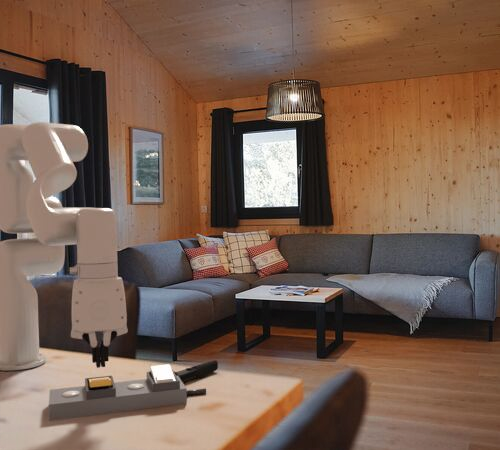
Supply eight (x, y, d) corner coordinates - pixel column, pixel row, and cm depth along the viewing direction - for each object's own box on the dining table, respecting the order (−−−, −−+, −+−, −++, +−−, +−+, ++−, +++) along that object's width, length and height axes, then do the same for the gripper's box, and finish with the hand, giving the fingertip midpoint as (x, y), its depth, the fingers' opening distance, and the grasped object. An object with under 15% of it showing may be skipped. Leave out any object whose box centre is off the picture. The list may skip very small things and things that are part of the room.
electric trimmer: (222, 374, 134) (222, 360, 134) (172, 390, 122) (172, 375, 122) (210, 371, 136) (210, 358, 136) (161, 386, 125) (160, 372, 125)
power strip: (50, 404, 114) (49, 381, 113) (200, 386, 123) (200, 365, 123) (49, 420, 105) (48, 396, 105) (211, 400, 115) (210, 377, 115)
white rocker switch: (150, 370, 119) (150, 364, 118) (169, 368, 120) (169, 362, 120) (155, 387, 112) (155, 381, 112) (175, 385, 113) (175, 378, 113)
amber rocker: (88, 384, 115) (88, 377, 115) (109, 382, 116) (108, 375, 116) (90, 387, 108) (89, 380, 108) (111, 385, 109) (111, 377, 110)
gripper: (56, 276, 104) (60, 375, 104) (139, 271, 108) (141, 366, 109) (57, 272, 111) (60, 364, 111) (134, 267, 115) (136, 357, 116)
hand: (100, 365), depth 110 cm, fingers closed
